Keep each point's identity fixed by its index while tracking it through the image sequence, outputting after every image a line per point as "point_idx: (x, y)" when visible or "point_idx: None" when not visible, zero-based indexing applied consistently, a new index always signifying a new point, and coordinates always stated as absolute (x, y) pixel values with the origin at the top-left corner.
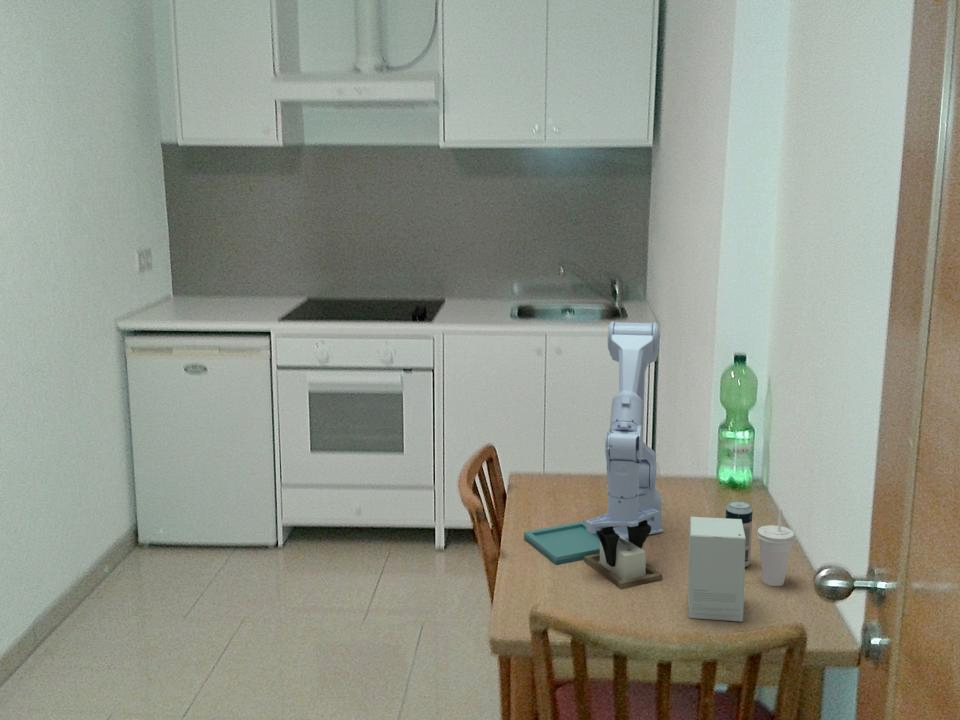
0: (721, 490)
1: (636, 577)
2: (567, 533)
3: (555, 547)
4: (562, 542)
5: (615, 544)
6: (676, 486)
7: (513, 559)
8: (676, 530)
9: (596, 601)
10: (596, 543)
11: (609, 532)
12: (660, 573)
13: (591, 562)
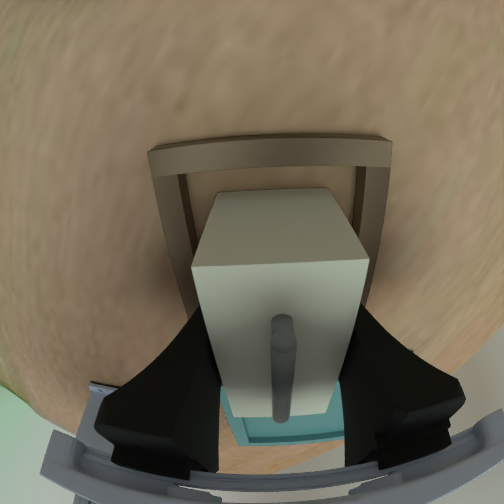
0: (24, 399)
1: (265, 193)
2: (292, 430)
3: None
4: (330, 413)
5: (381, 361)
6: (71, 427)
7: None
8: (66, 374)
9: (491, 107)
10: None
11: (414, 433)
12: (150, 166)
13: None
